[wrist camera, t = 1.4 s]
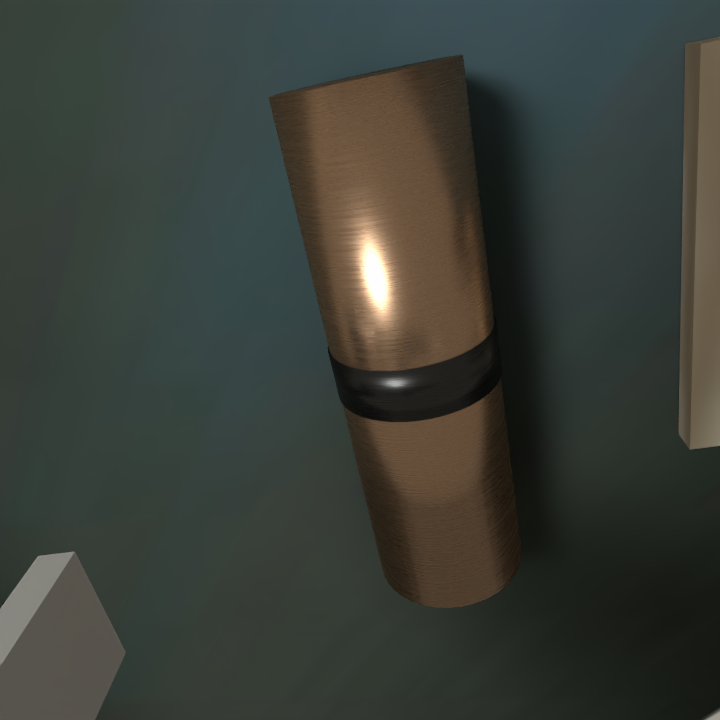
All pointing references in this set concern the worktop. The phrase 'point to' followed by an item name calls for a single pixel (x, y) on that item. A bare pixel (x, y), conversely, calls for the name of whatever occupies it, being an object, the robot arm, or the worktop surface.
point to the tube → (409, 318)
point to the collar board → (701, 249)
